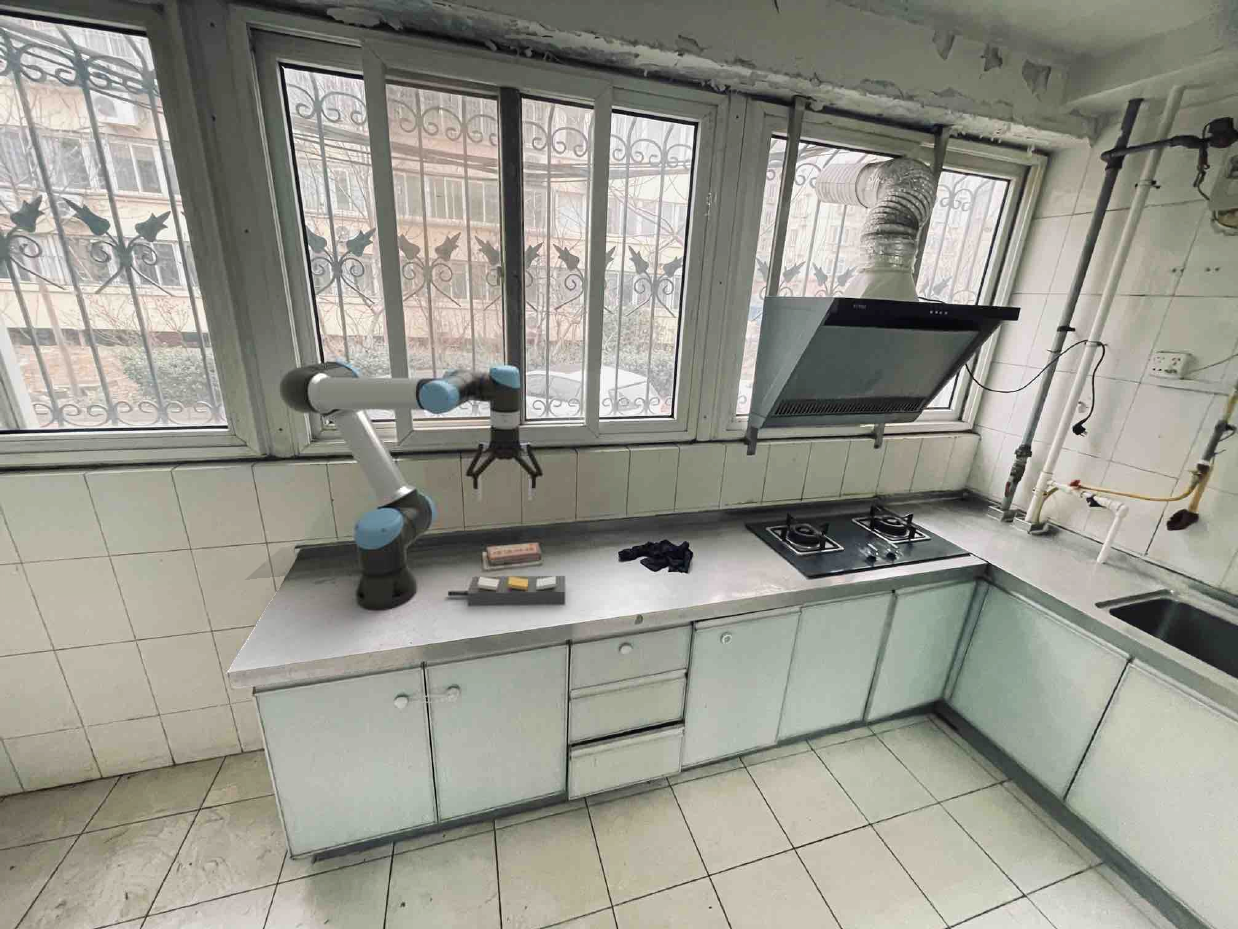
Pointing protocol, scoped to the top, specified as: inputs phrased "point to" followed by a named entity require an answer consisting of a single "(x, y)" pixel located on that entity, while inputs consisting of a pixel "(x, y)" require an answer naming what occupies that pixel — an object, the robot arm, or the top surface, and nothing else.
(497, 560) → the packaged product
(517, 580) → the yellow box
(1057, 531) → the top surface
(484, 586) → the white box
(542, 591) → the power strip
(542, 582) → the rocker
